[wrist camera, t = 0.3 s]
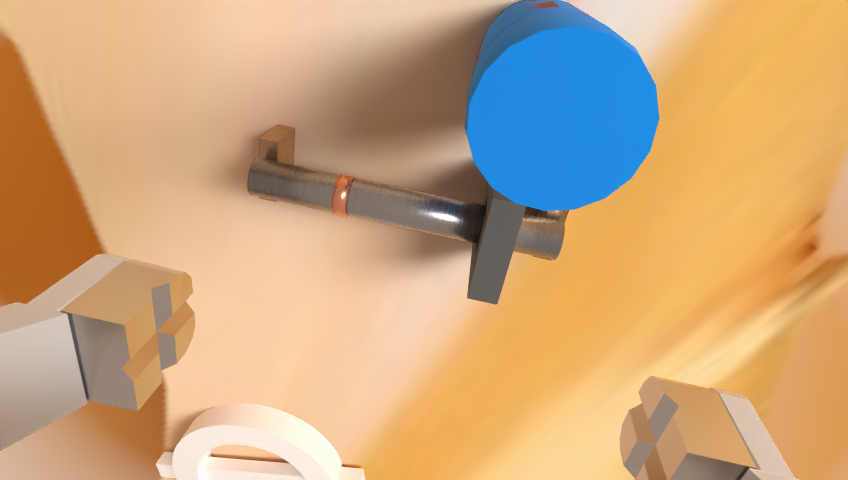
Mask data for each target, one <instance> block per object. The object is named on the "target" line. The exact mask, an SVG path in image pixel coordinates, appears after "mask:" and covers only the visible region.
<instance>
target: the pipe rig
mask: <svg viewBox="0 0 848 480" xmlns="http://www.w3.org/2000/svg"><path fill="white" fill-rule="evenodd" d="M294 138H295V128H292V127H287V126H282V125H277V126H275V127H274V128H272V129H271V130H270V131H268V132H267V133H266V134H264V135H263V136H261V137H260V138H259V158H256V159H255V160H254V161H253V163H252V165H251V167H250V170H249V174H248V183H247V185H248V191H249V193H250V195H252V196H257V197H259V198H262V199H266V200H271V201H276V202H277V201H280V202H285V203H290V204H294V205H299V206H304V207H308V208H313V209H318V210H322V211H327V212H332V213H333V214H334V215H339V216H344V217H348V216H350V217H355V218H360V219H365V220H369V221H374V222H379V223H383V224H388V225H393V226H397V227H402V228H407V229H411V230H416V231H421V232H425V233H430V234H435V235H439V236H444V237H449V238H454V239H458V240H463V241H468V242H472V243H477V244H479V240H480V236H481V232H482V228H483V225H484V221H485V217H486V210H487V206H486V205H481V204H476V203H472V202H467V201H462V200H457V199H453V198H448V197H443V196H438V195H434V194H429V193H424V192H419V191H415V190H410V189H405V188H400V187H396V186H391V185H386V184H381V183H377V182H372V181H367V180H362V179H358V178H356V177H355V176H350V175H346V174H340V175H339V174H334V173H329V172H324V171H320V170H315V169H310V168H305V167H301V166H296V165H293V163H294ZM568 212H569V210H552V211H543V210H539V212H538V215H537V216H533V215H529V214H524V216H523V220H522V223H521V226H520V230H519V233H518V236H517V240H516V243H515V246H514V250H513V251H514V252H519V253H524V254H529V255H533V257H538V258H543V259H547V260H555V259H556V258H557V257H558V255H559V253H560V250H561V247H562V243H563V238H564V230H565V226H564V223H565V220H566V217H567V214H568Z"/></svg>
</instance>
